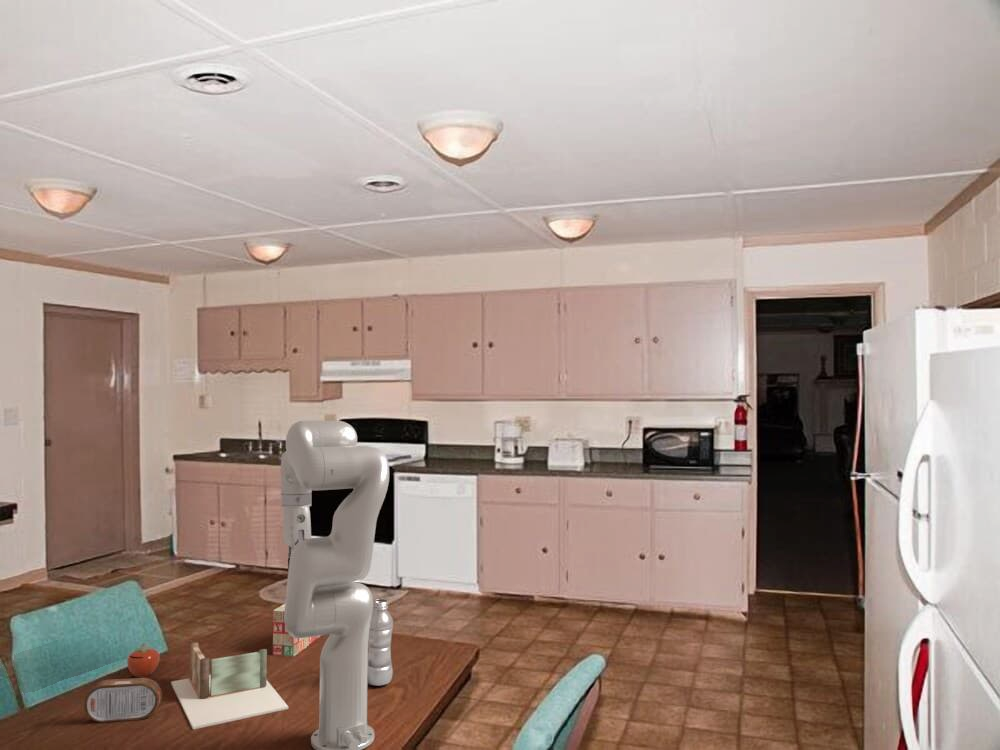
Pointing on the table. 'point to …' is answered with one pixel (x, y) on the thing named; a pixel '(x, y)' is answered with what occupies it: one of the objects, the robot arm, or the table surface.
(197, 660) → the fixed fence
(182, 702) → the card
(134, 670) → the tomato
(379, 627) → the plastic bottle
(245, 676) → the swing panel
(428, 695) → the table surface
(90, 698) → the tin
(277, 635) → the stack of blocks
